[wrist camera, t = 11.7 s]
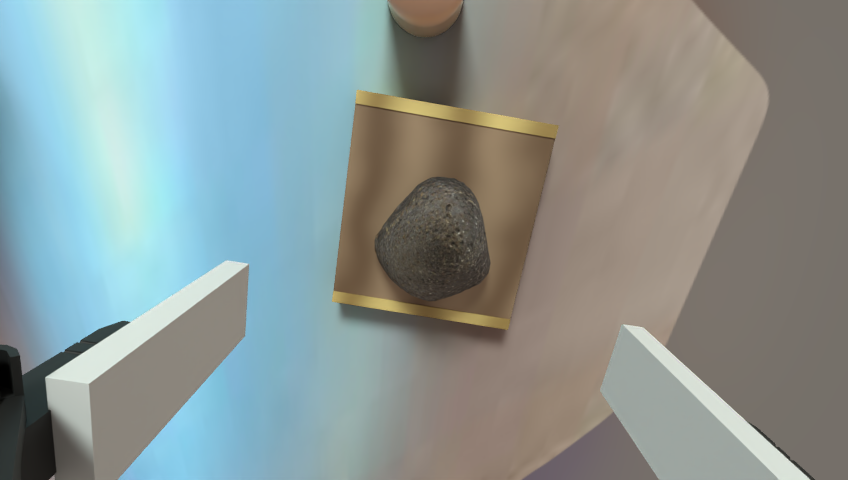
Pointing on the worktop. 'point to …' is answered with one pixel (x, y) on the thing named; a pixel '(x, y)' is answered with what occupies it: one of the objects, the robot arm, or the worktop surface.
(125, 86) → the worktop surface
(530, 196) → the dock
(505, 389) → the worktop surface
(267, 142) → the worktop surface
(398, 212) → the stone
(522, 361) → the worktop surface
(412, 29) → the peach rounded capsule
